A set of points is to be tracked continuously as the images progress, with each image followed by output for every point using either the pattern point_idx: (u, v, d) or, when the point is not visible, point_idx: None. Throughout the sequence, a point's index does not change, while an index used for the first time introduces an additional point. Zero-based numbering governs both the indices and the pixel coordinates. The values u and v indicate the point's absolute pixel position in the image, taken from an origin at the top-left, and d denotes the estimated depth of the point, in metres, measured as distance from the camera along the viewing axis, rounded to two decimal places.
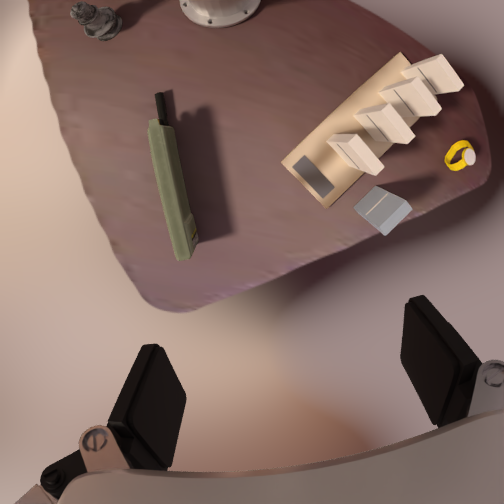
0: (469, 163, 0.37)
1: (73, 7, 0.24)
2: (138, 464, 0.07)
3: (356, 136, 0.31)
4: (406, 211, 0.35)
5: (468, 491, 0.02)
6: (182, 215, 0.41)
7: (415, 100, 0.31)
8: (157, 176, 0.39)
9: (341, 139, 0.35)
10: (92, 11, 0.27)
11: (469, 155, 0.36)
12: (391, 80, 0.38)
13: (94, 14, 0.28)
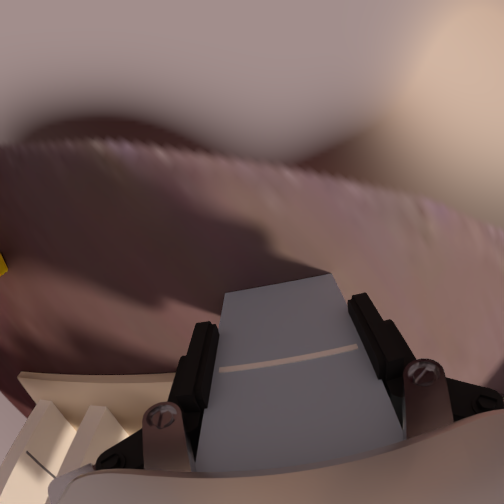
0: None
1: None
2: None
3: None
4: None
5: (468, 491, 0.02)
6: None
7: None
8: None
9: None
10: None
11: None
12: None
13: None
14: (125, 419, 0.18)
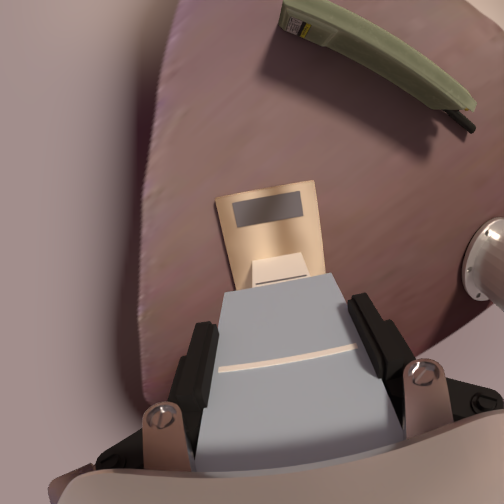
0: None
1: None
2: None
3: None
4: None
5: (468, 491, 0.02)
6: (349, 36, 0.20)
7: None
8: (418, 53, 0.19)
9: None
10: None
11: None
12: None
13: None
14: None
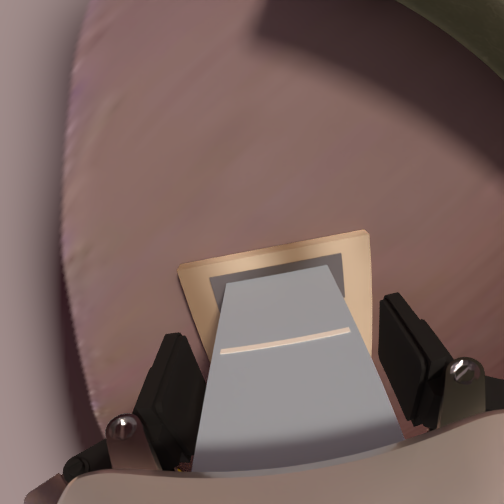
0: None
1: None
2: (165, 451, 0.07)
3: None
4: None
5: (468, 491, 0.02)
6: None
7: None
8: None
9: None
10: None
11: None
12: None
13: None
14: None
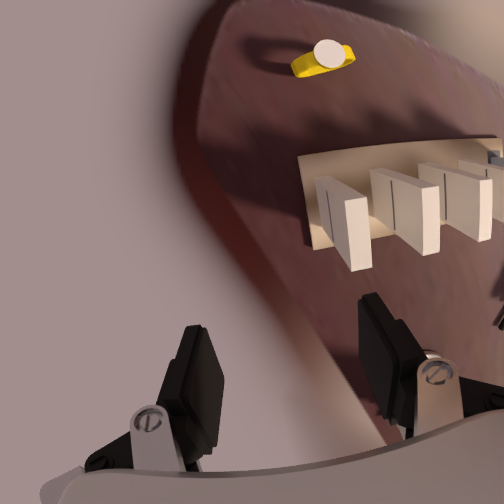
0: (337, 44, 0.20)
1: None
2: (190, 443, 0.07)
3: None
4: None
5: (468, 491, 0.02)
6: None
7: None
8: None
9: None
10: None
11: (330, 56, 0.20)
12: None
13: None
14: None
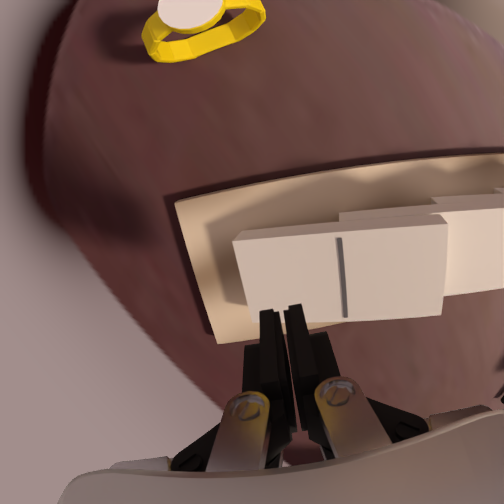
0: None
1: None
2: (285, 427, 0.07)
3: None
4: None
5: (468, 491, 0.02)
6: None
7: None
8: None
9: None
10: None
11: (189, 6, 0.09)
12: None
13: None
14: None
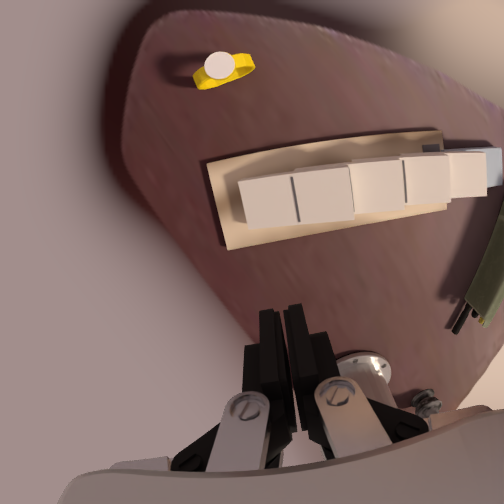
0: (227, 55, 0.22)
1: None
2: (285, 427, 0.07)
3: None
4: None
5: (468, 491, 0.02)
6: None
7: None
8: None
9: None
10: None
11: (219, 67, 0.23)
12: None
13: None
14: None
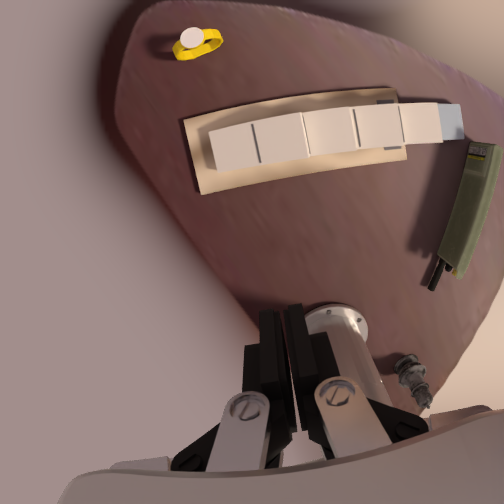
0: (197, 29, 0.26)
1: (429, 406, 0.39)
2: (285, 427, 0.07)
3: None
4: None
5: (468, 491, 0.02)
6: (482, 184, 0.32)
7: None
8: (481, 230, 0.33)
9: None
10: (418, 391, 0.42)
11: (191, 39, 0.26)
12: None
13: (418, 387, 0.42)
14: None
